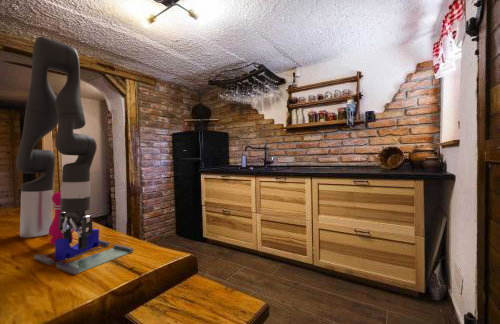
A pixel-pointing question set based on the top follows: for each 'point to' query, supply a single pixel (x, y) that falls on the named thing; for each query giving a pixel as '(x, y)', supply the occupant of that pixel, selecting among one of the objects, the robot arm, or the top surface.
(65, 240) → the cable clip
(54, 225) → the pepper mill
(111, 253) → the panel
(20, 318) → the top surface
